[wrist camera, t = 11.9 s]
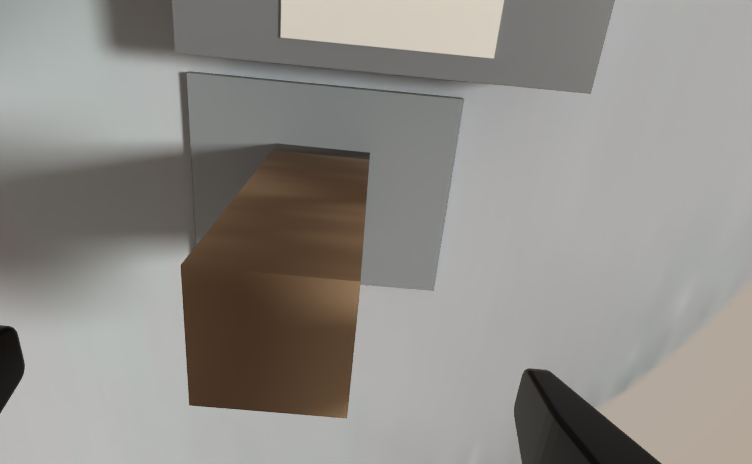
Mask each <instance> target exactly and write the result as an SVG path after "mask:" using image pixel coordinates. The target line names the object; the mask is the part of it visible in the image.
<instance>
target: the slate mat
mask: <svg viewBox="0 0 752 464" xmlns="http://www.w3.org/2000/svg"><path fill="white" fill-rule="evenodd" d="M186 74H187V92H188V110H189V128H190V146H191V164H192V182H193V200H194V218H195V236H196V245H197V244H198V243H199V242H200V240H201V239H202V238H203V237H204V235H205V234H206V233H207V232H208V230H209V229H210V228H211V227H212V225H213V224H214V223H215V222H216V220H217V219H218V218H219V216H220V215H221V214H222V213H223V211H224V210H225V209H226V208H227V206H228V205H229V204H230V203H231V201H232V200H233V199H234V198H235V196H236V195H237V194H238V193H239V191H240V190H241V189H242V188H243V186H244V185H245V184H246V183H247V181H248V180H249V179H250V177H251V176H252V175H253V174H254V172H255V171H256V170H257V169H258V167H259V166H260V165H261V164H262V162H263V161H264V160H265V159H266V157H267V156H268V155H269V154H270V152H271V151H272V150H273V149H274V147H275V146H276V145H277V144H278V143H279V144H289V145H299V146H309V147H319V148H329V149H339V150H349V151H359V152H369V153H370V160H369V174H368V187H367V201H366V214H365V228H364V241H363V255H362V268H361V282H360V284H361V285H373V286H384V287H396V288H408V289H420V290H432V291H434V285H435V279H436V272H437V266H438V260H439V253H440V247H441V241H442V235H443V228H444V222H445V216H446V209H447V203H448V197H449V191H450V184H451V178H452V172H453V165H454V159H455V153H456V147H457V140H458V134H459V128H460V121H461V115H462V109H463V103H464V99H463V98H458V97H448V96H438V95H427V94H417V93H407V92H396V91H386V90H376V89H365V88H355V87H345V86H334V85H324V84H314V83H303V82H293V81H283V80H272V79H262V78H252V77H241V76H231V75H221V74H210V73H200V72H187V73H186Z"/></svg>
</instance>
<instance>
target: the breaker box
mask: <svg viewBox="0 0 752 464" xmlns="http://www.w3.org/2000/svg"><path fill="white" fill-rule="evenodd" d="M614 1H615V0H172V15H173V31H174V46H175V53H178V54H189V55H199V56H209V57H219V58H230V59H240V60H250V61H260V62H271V63H281V64H291V65H301V66H312V67H322V68H332V69H342V70H352V71H363V72H373V73H383V74H393V75H404V76H414V77H424V78H434V79H445V80H455V81H465V82H475V83H486V84H496V85H506V86H516V87H527V88H537V89H547V90H557V91H567V92H578V93H588V94H591V91H592V87H593V83H594V79H595V75H596V71H597V67H598V63H599V59H600V55H601V52H602V48H603V44H604V40H605V36H606V32H607V28H608V24H609V20H610V16H611V13H612V9H613V5H614Z"/></svg>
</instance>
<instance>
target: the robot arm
mask: <svg viewBox="0 0 752 464" xmlns="http://www.w3.org/2000/svg"><path fill="white" fill-rule="evenodd" d="M24 369H25V364H24V359H23V355H22V350H21V346H20V342H19V337H18V334H17V331H16V330H15V329H14V328H13V327H10V326H2V325H0V413H1V411H2V410H3V408H4V407H5V405H6V403H7V402H8V400H9V398H10V397H11V395H12V394H13V392H14V390H15V389H16V387H17V385H18V384H19V382H20V381H21V379H22V376H23V374H24ZM514 417H515V424H516V430H517V436H518V442H519V448H520V454H521V460H522V464H661V463H660V462H659V461H657V460H656V459H655V458H654V457H653V456H651V455H650V454H649V453H648V452H647V451H646V450H644V449H643V448H642V447H641V446H639V445H638V444H637V443H636V442H635V441H633V440H632V439H631V438H630V437H629V436H627V435H626V434H625V433H624V432H623V431H621V430H620V429H619V428H618V427H616V426H615V425H614V424H613V423H612V422H610V421H609V420H608V419H607V418H606V417H605V416H603V415H602V414H601V413H600V412H598V411H597V410H596V409H595V408H594V407H592V406H591V405H590V404H589V403H588V402H586V401H585V400H584V399H583V398H582V397H580V396H579V395H578V394H577V393H576V392H574V391H573V390H572V389H571V388H569V387H568V386H567V385H566V384H565V383H563V382H562V381H561V380H560V379H559V378H557V377H556V376H555V375H554V374H553V373H551V372H550V371H548V370H542V369H526V370H525V371H524V373H523V374H522V378H521V382H520V385H519V389H518V393H517V397H516V401H515V406H514Z"/></svg>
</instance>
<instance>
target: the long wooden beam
mask: <svg viewBox="0 0 752 464" xmlns="http://www.w3.org/2000/svg"><path fill="white" fill-rule="evenodd" d="M369 160H370V153H369V152H359V151H349V150H339V149H329V148H319V147H309V146H299V145H289V144H279V143H278V144H277V145H276V146H275V147H274V149H273V150H272V151H271V152H270V154H269V155H268V156H267V157H266V159H265V160H264V161H263V162H262V164H261V165H260V166H259V167H258V169H257V170H256V171H255V172H254V174H253V175H252V176H251V177H250V179H249V180H248V181H247V183H246V184H245V185H244V186H243V188H242V189H241V190H240V191H239V193H238V194H237V195H236V196H235V198H234V199H233V200H232V201H231V203H230V204H229V205H228V206H227V208H226V209H225V210H224V211H223V213H222V214H221V215H220V216H219V218H218V219H217V220H216V222H215V223H214V224H213V225H212V227H211V228H210V229H209V230H208V232H207V233H206V234H205V235H204V237H203V238H202V239H201V240H200V242H199V243H198V244H197V245H196V247H195V248H194V249H193V250H192V252H191V253H190V254H189V255H188V257H187V258H186V259H185V261H184V262H183V263H182V264H181V278H182V294H183V310H184V326H185V342H186V359H187V375H188V391H189V405H192V406H204V407H216V408H228V409H241V410H253V411H265V412H277V413H289V414H301V415H313V416H326V417H338V418H347V412H348V402H349V392H350V382H351V372H352V362H353V352H354V342H355V332H356V322H357V312H358V302H359V292H360V282H361V268H362V255H363V241H364V228H365V214H366V201H367V187H368V174H369Z"/></svg>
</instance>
